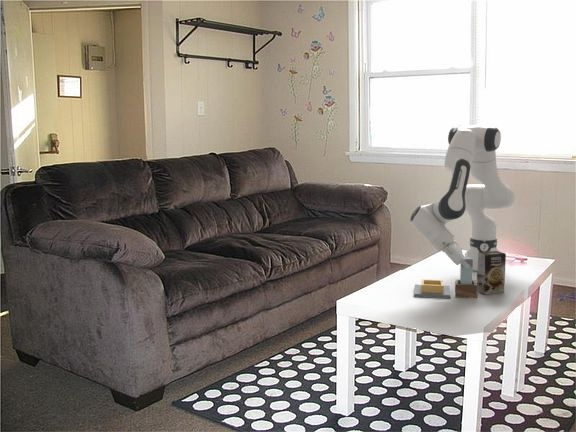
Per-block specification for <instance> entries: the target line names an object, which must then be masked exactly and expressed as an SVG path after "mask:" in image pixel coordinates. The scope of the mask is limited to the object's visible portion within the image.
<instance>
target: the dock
mask: <svg viewBox="0 0 576 432" xmlns="http://www.w3.org/2000/svg"><path fill="white" fill-rule="evenodd" d="M414 296H419V297H418V298H433V297H434V298H436V299H438V298H439V299H451V287H450V285H444V280H443V279H421V284H414V291H413V297H414Z"/></svg>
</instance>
